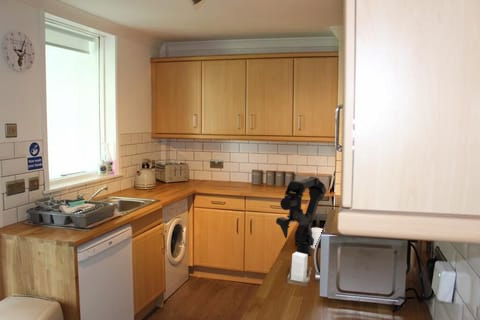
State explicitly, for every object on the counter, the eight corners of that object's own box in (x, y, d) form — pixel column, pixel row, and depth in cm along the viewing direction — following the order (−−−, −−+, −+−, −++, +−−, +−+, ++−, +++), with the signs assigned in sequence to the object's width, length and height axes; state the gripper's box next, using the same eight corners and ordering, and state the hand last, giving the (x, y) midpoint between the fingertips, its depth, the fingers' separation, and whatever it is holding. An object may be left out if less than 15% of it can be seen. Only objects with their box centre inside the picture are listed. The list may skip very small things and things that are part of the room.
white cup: (323, 250, 232) (324, 232, 231) (308, 248, 234) (309, 231, 232) (323, 245, 240) (324, 228, 239) (308, 243, 241) (310, 226, 240)
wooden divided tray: (291, 267, 206) (292, 264, 206) (311, 270, 204) (311, 267, 204) (286, 283, 189) (286, 279, 189) (308, 286, 187) (308, 283, 186)
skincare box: (306, 279, 193) (308, 254, 191) (302, 282, 189) (304, 257, 187) (294, 276, 196) (295, 251, 194) (290, 279, 192) (291, 254, 190)
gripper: (290, 212, 198) (288, 244, 201) (320, 208, 208) (318, 239, 210) (276, 206, 208) (274, 237, 210) (305, 203, 217) (303, 232, 220)
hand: (293, 236), depth 212 cm, fingers open, 9 cm apart
